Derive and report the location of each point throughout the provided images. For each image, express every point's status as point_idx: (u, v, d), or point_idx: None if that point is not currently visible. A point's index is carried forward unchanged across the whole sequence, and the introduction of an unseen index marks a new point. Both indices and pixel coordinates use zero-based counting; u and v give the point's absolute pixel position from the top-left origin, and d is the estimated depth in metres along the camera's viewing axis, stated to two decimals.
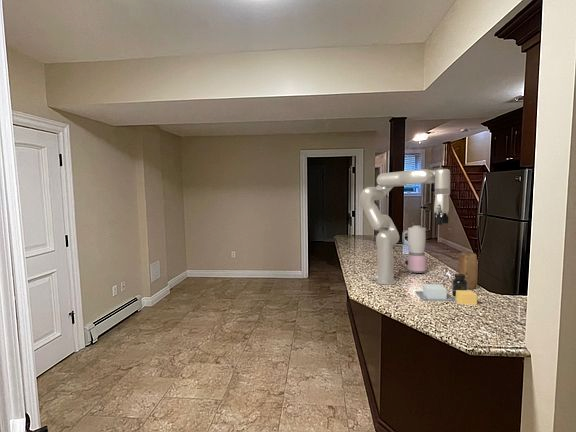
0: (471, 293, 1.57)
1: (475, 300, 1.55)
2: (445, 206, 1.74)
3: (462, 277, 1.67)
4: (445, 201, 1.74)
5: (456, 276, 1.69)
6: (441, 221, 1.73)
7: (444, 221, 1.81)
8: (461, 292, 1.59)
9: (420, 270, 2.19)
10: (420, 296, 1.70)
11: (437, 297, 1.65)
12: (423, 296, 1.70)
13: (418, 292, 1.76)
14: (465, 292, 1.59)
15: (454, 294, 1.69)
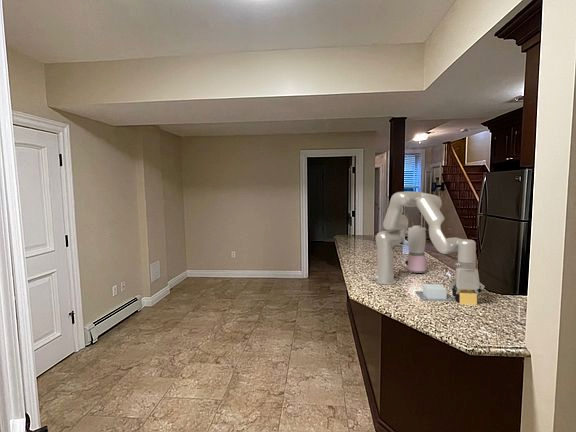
0: (471, 293, 1.57)
1: (475, 299, 1.55)
2: None
3: None
4: None
5: None
6: None
7: None
8: (461, 292, 1.59)
9: (420, 270, 2.19)
10: (420, 296, 1.70)
11: (437, 297, 1.65)
12: (423, 296, 1.70)
13: (418, 292, 1.76)
14: (465, 292, 1.59)
15: (454, 294, 1.69)
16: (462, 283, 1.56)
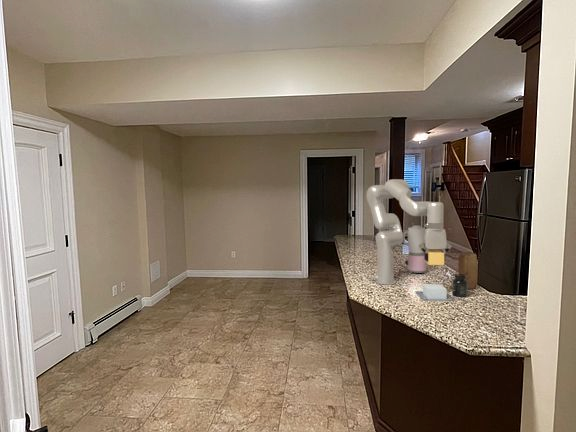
0: (439, 252, 1.67)
1: (442, 258, 1.65)
2: None
3: (462, 277, 1.67)
4: None
5: (456, 276, 1.69)
6: None
7: None
8: (430, 251, 1.68)
9: (420, 270, 2.19)
10: (420, 296, 1.70)
11: (437, 297, 1.65)
12: (423, 296, 1.70)
13: (418, 292, 1.76)
14: (434, 251, 1.68)
15: (454, 294, 1.69)
16: (430, 243, 1.66)
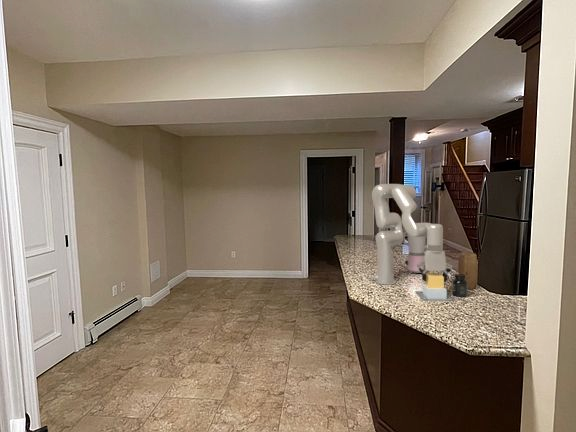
0: (439, 275, 1.67)
1: (442, 281, 1.65)
2: None
3: (462, 277, 1.67)
4: None
5: (456, 276, 1.69)
6: None
7: None
8: (429, 275, 1.69)
9: None
10: (420, 296, 1.70)
11: (437, 297, 1.65)
12: (423, 296, 1.70)
13: (418, 292, 1.76)
14: (433, 275, 1.69)
15: (454, 294, 1.69)
16: (430, 264, 1.66)
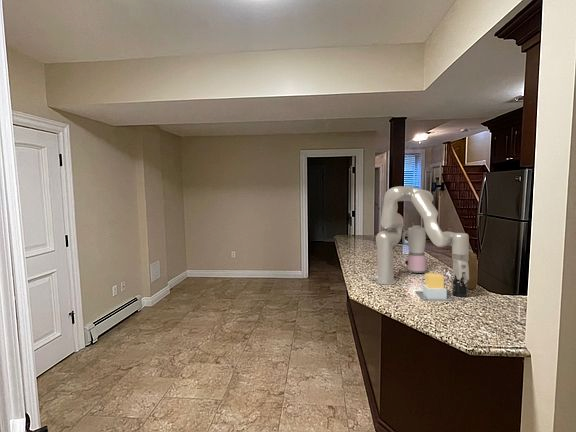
0: (439, 275, 1.67)
1: (442, 281, 1.65)
2: (453, 270, 1.72)
3: None
4: (453, 265, 1.72)
5: None
6: None
7: None
8: (429, 275, 1.69)
9: (420, 270, 2.19)
10: (420, 296, 1.70)
11: (437, 297, 1.65)
12: (423, 296, 1.70)
13: (418, 292, 1.76)
14: (433, 275, 1.69)
15: (454, 294, 1.69)
16: None
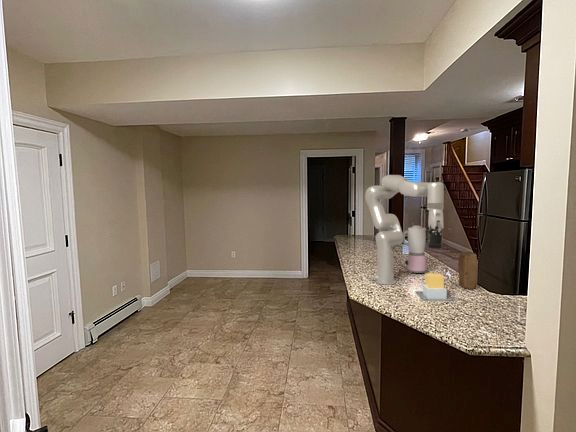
0: (439, 275, 1.67)
1: (442, 281, 1.65)
2: (428, 220, 1.70)
3: None
4: (429, 216, 1.70)
5: None
6: None
7: None
8: (429, 275, 1.69)
9: (420, 270, 2.19)
10: (420, 296, 1.70)
11: (437, 297, 1.65)
12: (423, 296, 1.70)
13: (418, 292, 1.76)
14: (433, 275, 1.69)
15: (429, 244, 1.67)
16: None
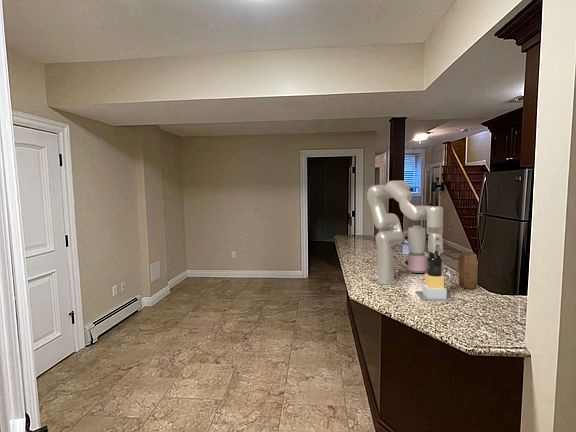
0: None
1: (442, 281, 1.65)
2: (428, 244, 1.71)
3: (436, 254, 1.66)
4: (428, 239, 1.71)
5: (430, 253, 1.68)
6: None
7: None
8: None
9: (420, 270, 2.19)
10: (420, 296, 1.70)
11: (437, 297, 1.65)
12: (423, 296, 1.70)
13: (418, 292, 1.76)
14: None
15: (428, 271, 1.68)
16: None
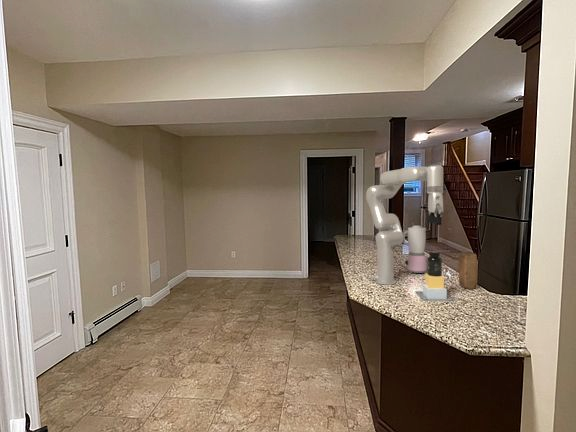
0: None
1: (442, 281, 1.65)
2: (428, 204, 1.70)
3: (436, 254, 1.66)
4: (428, 200, 1.69)
5: (430, 253, 1.68)
6: None
7: None
8: None
9: (420, 270, 2.19)
10: (420, 296, 1.70)
11: (437, 297, 1.65)
12: (423, 296, 1.70)
13: (418, 292, 1.76)
14: None
15: (428, 271, 1.68)
16: None
